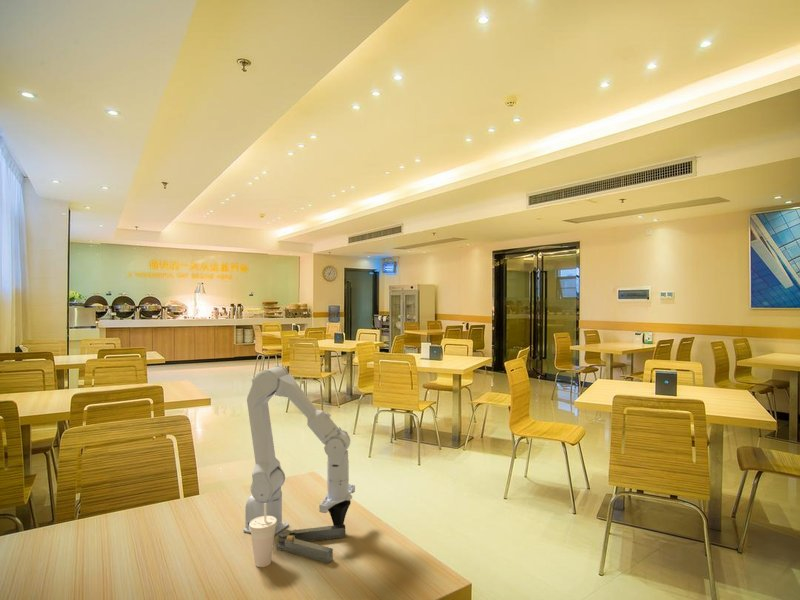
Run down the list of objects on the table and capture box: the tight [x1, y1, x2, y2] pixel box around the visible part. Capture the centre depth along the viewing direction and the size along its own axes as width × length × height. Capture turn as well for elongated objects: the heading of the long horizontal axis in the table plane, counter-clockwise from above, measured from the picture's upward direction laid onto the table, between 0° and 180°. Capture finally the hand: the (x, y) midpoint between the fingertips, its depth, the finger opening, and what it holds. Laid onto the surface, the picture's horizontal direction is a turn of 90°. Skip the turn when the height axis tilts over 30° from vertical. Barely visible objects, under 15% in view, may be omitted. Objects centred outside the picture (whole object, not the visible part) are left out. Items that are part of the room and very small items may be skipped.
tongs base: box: [276, 535, 334, 565], centre depth 110 cm, size 17×5×4 cm, turn 65°
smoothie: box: [249, 503, 277, 568], centre depth 105 cm, size 6×6×14 cm
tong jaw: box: [278, 524, 346, 542], centre depth 115 cm, size 17×3×3 cm, turn 103°
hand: (338, 528), depth 119 cm, fingers closed
